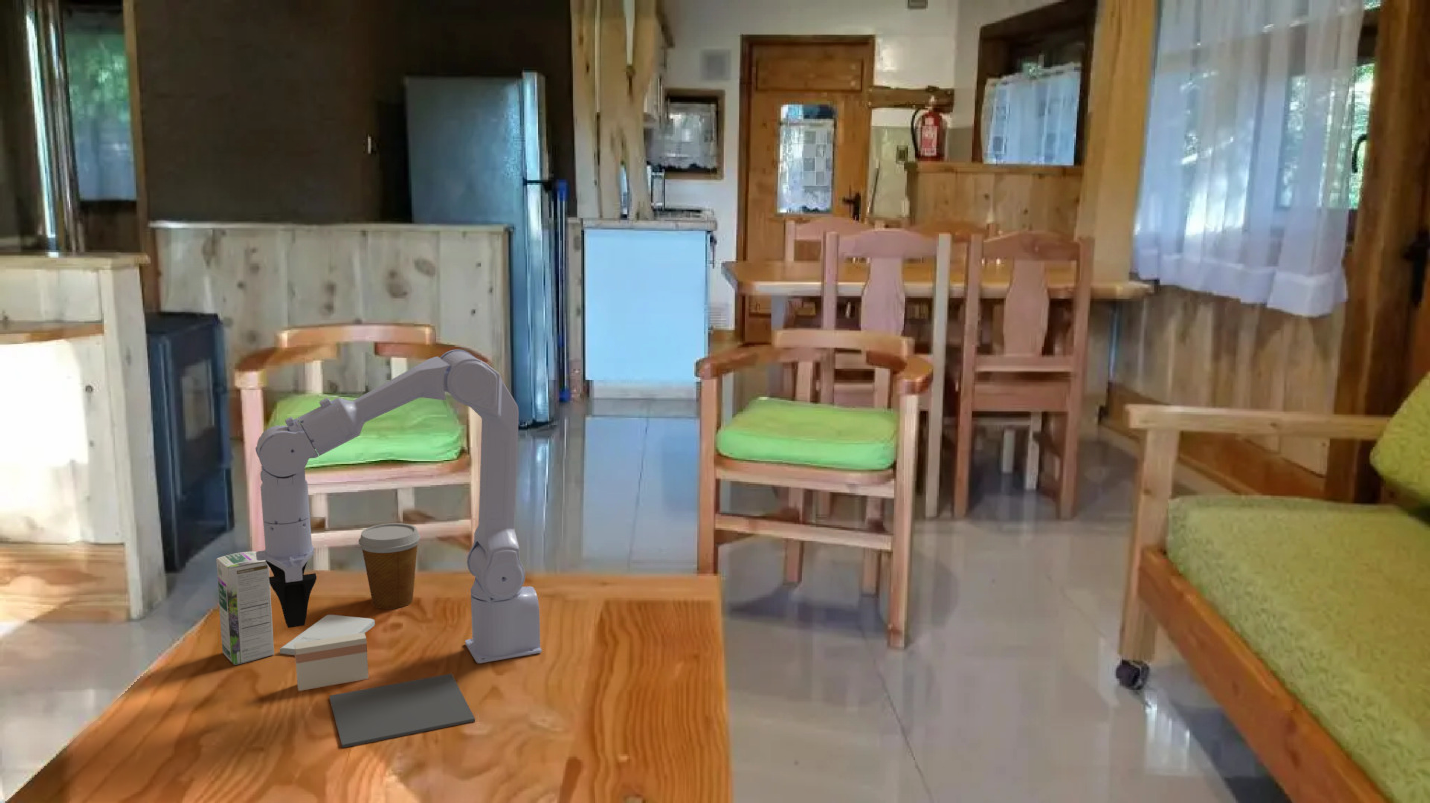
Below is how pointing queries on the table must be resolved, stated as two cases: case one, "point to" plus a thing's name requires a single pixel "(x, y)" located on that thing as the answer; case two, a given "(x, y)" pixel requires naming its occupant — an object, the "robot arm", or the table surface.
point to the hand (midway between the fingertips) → (293, 615)
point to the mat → (399, 710)
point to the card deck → (331, 661)
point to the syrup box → (245, 607)
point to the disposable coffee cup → (390, 563)
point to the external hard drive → (330, 630)
